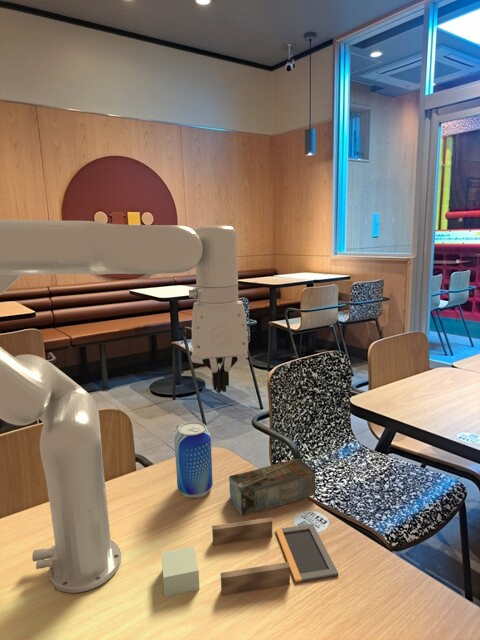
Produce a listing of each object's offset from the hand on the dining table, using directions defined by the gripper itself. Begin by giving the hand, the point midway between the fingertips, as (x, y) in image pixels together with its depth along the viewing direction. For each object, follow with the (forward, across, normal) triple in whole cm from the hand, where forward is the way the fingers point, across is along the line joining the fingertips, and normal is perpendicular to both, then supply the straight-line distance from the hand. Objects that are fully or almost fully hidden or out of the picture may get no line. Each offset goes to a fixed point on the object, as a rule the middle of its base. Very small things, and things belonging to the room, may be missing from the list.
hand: (220, 389), depth 83 cm
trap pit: (+31, +14, -9) cm, 35 cm away
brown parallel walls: (+31, +3, -9) cm, 33 cm away
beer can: (+31, -5, +16) cm, 36 cm away
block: (+31, -10, -11) cm, 34 cm away
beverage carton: (+32, +12, +9) cm, 35 cm away
